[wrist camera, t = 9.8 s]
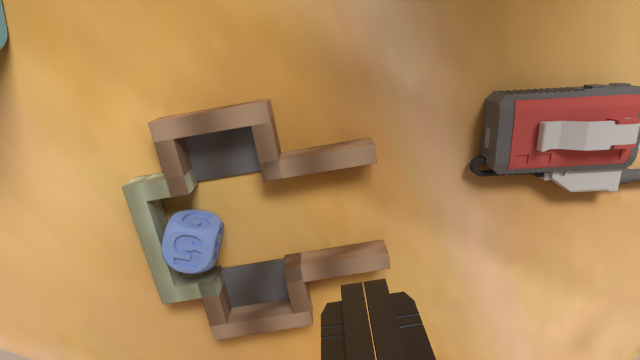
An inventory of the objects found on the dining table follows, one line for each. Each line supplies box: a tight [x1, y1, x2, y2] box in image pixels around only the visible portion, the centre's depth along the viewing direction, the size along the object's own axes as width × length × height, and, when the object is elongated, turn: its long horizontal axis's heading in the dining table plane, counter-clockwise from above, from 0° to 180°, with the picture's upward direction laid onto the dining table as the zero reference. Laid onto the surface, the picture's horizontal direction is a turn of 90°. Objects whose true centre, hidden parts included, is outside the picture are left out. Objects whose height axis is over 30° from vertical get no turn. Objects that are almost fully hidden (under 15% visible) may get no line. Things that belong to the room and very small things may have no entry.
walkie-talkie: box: [470, 83, 640, 192], centre depth 30 cm, size 9×4×20 cm
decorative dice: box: [161, 209, 224, 274], centre depth 32 cm, size 4×4×4 cm
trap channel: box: [122, 99, 390, 340], centre depth 33 cm, size 20×20×2 cm
